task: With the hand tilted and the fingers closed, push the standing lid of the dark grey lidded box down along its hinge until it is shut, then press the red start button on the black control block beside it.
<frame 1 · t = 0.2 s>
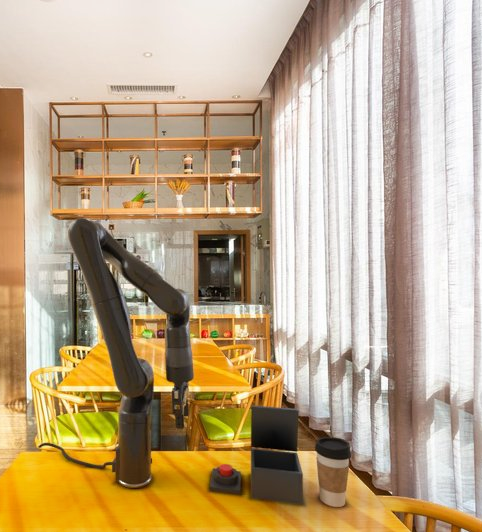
hand: (182, 421, 108), 17 cm above the table, tool pointing down, fingers open, 8 cm apart
dark grey lidded box: (274, 489, 107), on the table
start button: (226, 470, 109), point 3 cm above the table, slide at 0.1 cm
lid: (274, 428, 111), point 14 cm above the table, hinge at 80.0°
coffee cup: (332, 501, 102), on the table
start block: (225, 483, 109), on the table
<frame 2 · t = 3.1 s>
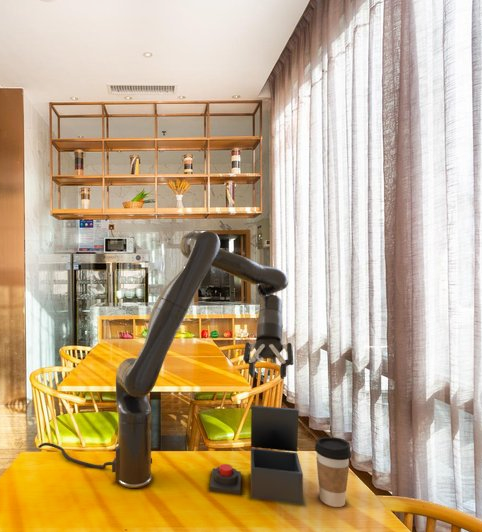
hand: (267, 377, 115), 28 cm above the table, tool tilted 35°, fingers open, 8 cm apart
nothing on the table moved.
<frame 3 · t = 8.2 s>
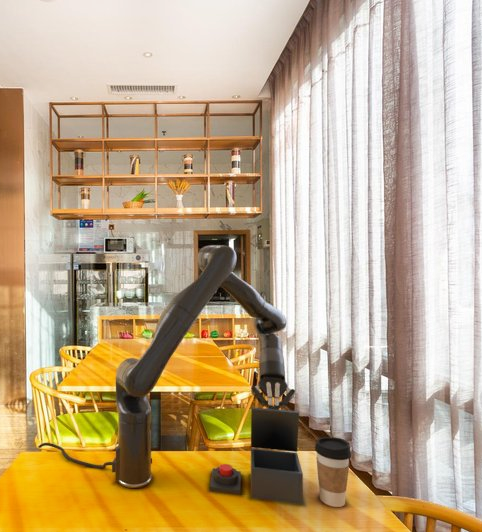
hand: (274, 420, 111), 17 cm above the table, tool tilted 45°, fingers closed
lid: (274, 429, 111), point 14 cm above the table, hinge at 74.7°, touching gripper
everything else where it was.
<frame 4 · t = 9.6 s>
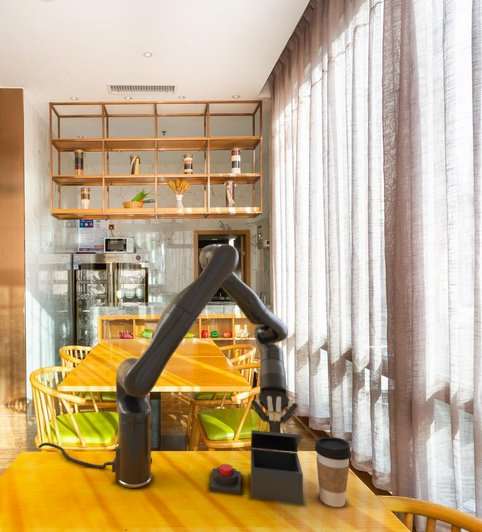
hand: (275, 436, 106), 14 cm above the table, tool tilted 45°, fingers closed
lid: (275, 441, 108), point 12 cm above the table, hinge at 40.4°, touching gripper
everything else where it was.
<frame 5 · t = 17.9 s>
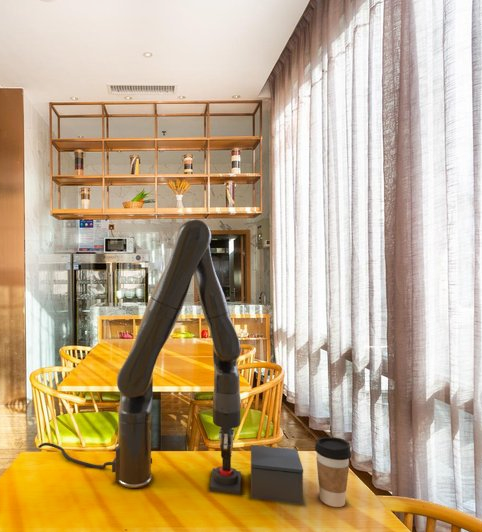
hand: (226, 469, 109), 4 cm above the table, tool pointing down, fingers closed
start button: (225, 472, 109), point 3 cm above the table, slide at -0.5 cm, touching gripper
lid: (275, 458, 106), point 9 cm above the table, hinge at 2.6°
everything else where it was.
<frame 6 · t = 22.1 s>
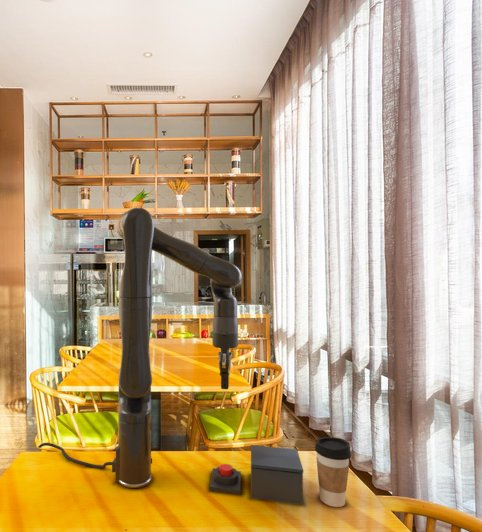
hand: (224, 388, 119), 23 cm above the table, tool pointing down, fingers closed
start button: (226, 470, 109), point 3 cm above the table, slide at 0.1 cm
everything else where it was.
at the end: lid at +3° (first picture: +80°); start button pushed in 1.2 cm at the most during the clip and back out by the end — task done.
